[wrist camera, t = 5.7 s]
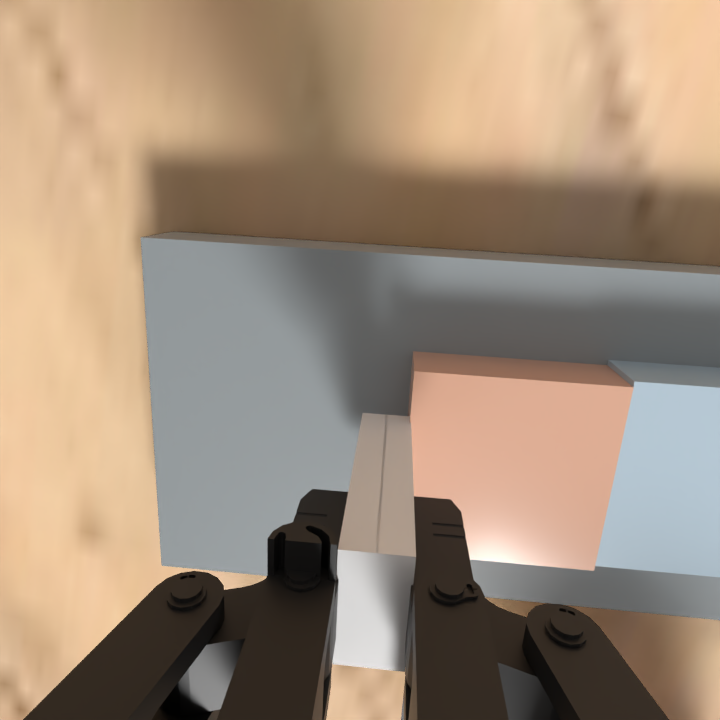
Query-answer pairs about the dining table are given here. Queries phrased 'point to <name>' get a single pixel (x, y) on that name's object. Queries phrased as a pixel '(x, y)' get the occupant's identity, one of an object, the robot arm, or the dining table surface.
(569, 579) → the board
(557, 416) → the terracotta tile
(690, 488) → the blue tile
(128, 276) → the dining table surface
